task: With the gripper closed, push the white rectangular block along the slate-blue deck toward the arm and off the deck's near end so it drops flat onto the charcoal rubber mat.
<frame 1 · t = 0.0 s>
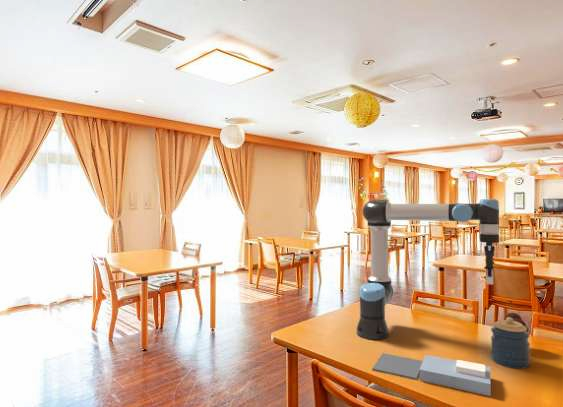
hand: (489, 281, 162), 28 cm above the table, tool pointing down, fingers open, 13 cm apart
mat: (398, 366, 141), on the table
ice cream bowl: (513, 348, 157), on the table
white rectangular block: (470, 371, 128), point 4 cm above the table, touching deck
deck: (455, 379, 130), on the table
canister: (509, 362, 144), on the table
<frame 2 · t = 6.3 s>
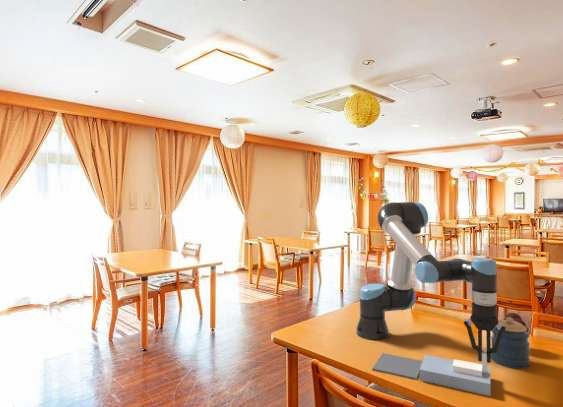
hand: (484, 370, 126), 5 cm above the table, tool pointing down, fingers closed
white rectangular block: (467, 370, 128), point 4 cm above the table, touching deck, gripper
everything else where it was.
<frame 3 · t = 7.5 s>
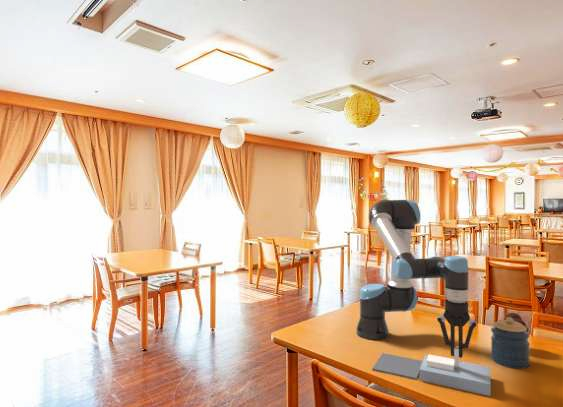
hand: (456, 365, 130), 5 cm above the table, tool pointing down, fingers closed
white rectangular block: (440, 365, 133), point 4 cm above the table
everything else where it was.
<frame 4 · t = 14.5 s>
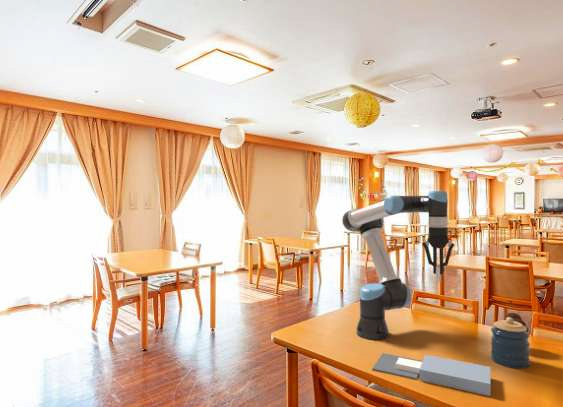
hand: (438, 281, 156), 29 cm above the table, tool pointing down, fingers closed
white rectangular block: (409, 368, 138), point 1 cm above the table, touching mat
everything else where it was.
at the end: white rectangular block inside the target area (4.5 cm from its centre), point 0.6 cm above the table; white rectangular block tilted 0° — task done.
